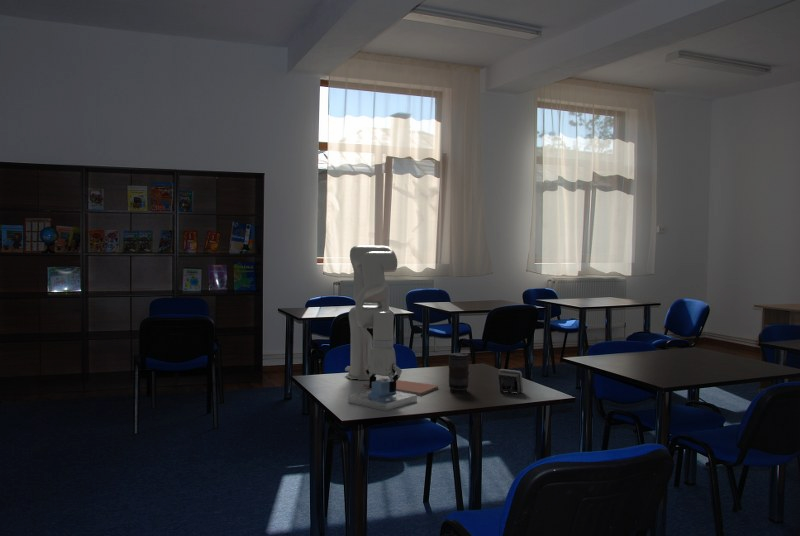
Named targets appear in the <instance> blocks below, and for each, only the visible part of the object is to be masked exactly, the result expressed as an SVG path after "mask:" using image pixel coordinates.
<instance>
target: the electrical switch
mask: <svg viewBox="0 0 800 536" xmlns="http://www.w3.org/2000/svg"><path fill="white" fill-rule="evenodd" d="M498 385H499V392H501V391H509V392H512V391H513V392H517V393H519V394H521V393H520V392H522V393H523V392H524V384H523V373H522V371H521V370H514V369H513V370H512V369H503V368H500V369H499V370H498Z"/></svg>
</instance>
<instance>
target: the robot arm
mask: <svg viewBox="0 0 800 536" xmlns="http://www.w3.org/2000/svg"><path fill="white" fill-rule="evenodd" d="M349 260H350V263H351V266H352V268H353V269H352V270H353V286H352V295H353V296H352V298H353V301H354V302H355V306H353V307H351V308H349V309H350V310H349V312H348V321H349V328H350V331H349V332H350V365H347V366H346V367H345V368H344V371H345V372H348V374H346V378H347V379H348V378H350V379H349V380H352V379H358V380H357V381H368V383H369V388H372V382H373V381H376V380H377V377H376V375H377V376H381V377H382V376H383V377H387V378H388V379H390V380H391V381H390V382H389V392H395V391H396V381H397V380H399V378H401V374H402V372H403V371H402V368H400V367H399V366H398V365H397V360H396V359H397V357H396V351H395V350H396V349H395V348H394V319H395V315H394V312H393V311H392V310H391V309H390V298H391V296H390V295H391V294H390V293H391V291H390V286H389V285H388V284H387V283H386V278H385V273H394V272H396V270H397V268H398V257H397V255H396V253H395V251H394V250H393V249H392V248H391V247H390V246H388V245H368V244H367V245H366V244H365V245H363V244H362V245H355V246H353V247H351V248H350V251H349ZM364 304H365V305H364ZM366 304H367V305H366ZM368 304H371V305H368ZM373 304H378V305H373ZM368 329H372V335H371V333H370V331H368Z"/></svg>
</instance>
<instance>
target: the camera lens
mask: <svg viewBox="0 0 800 536" xmlns="http://www.w3.org/2000/svg"><path fill="white" fill-rule="evenodd" d="M469 360H470V358H469V354H468V353H464V352H453V353H449V354H448V387H449V391H450V392H451V393H454V394H455V393H456V394H464V393H467V391H468V387H469V375H470V371H469V368H470V367H469V366H470V365H469V364H470V361H469Z"/></svg>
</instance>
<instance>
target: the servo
mask: <svg viewBox="0 0 800 536" xmlns="http://www.w3.org/2000/svg"><path fill="white" fill-rule="evenodd" d="M382 378H383V379H382ZM382 378H381V379H382V380H379V379H377V380H378V381H373V382H372V389H371V390H372V393H370V394H368V396H369V397H374V398H384V397H388V396H392V395H393V394H394V393H396V391H395V392H389V382H390V381H391V380H388V379H389V377H382Z"/></svg>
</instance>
